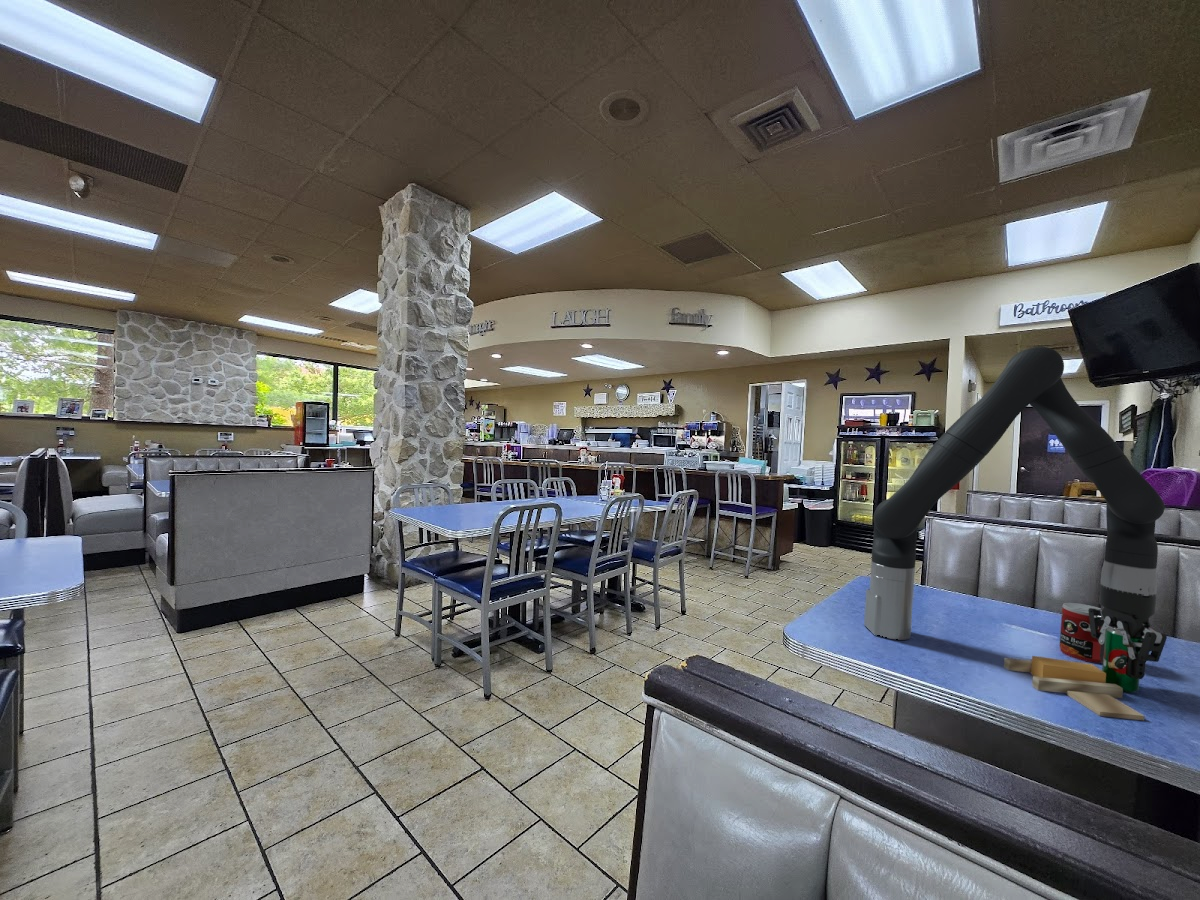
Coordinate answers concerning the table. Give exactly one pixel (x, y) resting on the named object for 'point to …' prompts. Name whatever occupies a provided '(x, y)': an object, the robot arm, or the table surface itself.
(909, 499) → the robot arm
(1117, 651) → the soda can
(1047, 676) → the long wooden beam
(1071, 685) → the rails
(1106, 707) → the coaster
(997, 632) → the table surface
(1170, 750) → the table surface
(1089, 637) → the canned food
